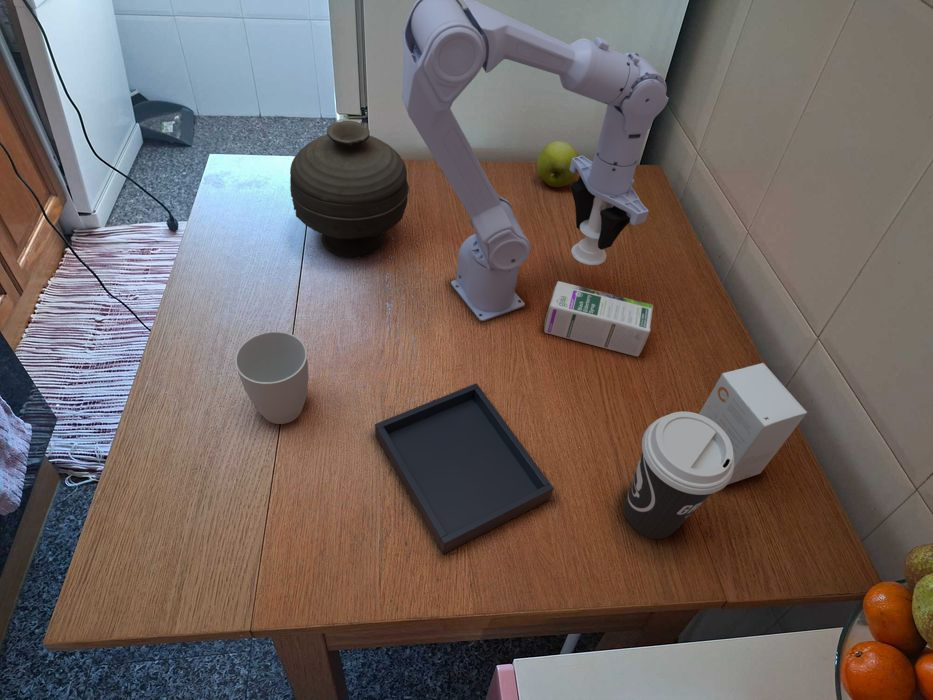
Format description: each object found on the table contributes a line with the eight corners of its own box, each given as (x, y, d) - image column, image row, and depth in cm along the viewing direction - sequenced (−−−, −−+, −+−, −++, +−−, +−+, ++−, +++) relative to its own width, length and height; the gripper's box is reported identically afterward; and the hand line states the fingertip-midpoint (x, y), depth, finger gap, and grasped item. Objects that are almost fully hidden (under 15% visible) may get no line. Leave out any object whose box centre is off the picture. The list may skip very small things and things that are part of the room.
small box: (760, 474, 82) (809, 413, 72) (720, 488, 80) (764, 427, 70) (722, 424, 87) (763, 360, 77) (683, 436, 85) (720, 372, 75)
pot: (433, 227, 109) (429, 121, 93) (367, 291, 99) (350, 184, 84) (350, 190, 115) (333, 84, 99) (280, 248, 105) (250, 140, 90)
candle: (564, 253, 98) (581, 185, 89) (584, 238, 100) (602, 171, 92) (592, 270, 95) (613, 202, 87) (612, 255, 98) (634, 188, 89)
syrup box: (651, 331, 89) (549, 303, 91) (638, 359, 94) (541, 332, 95) (654, 304, 93) (556, 278, 95) (642, 332, 98) (548, 307, 99)
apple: (531, 192, 120) (538, 154, 114) (535, 166, 126) (542, 129, 120) (573, 199, 119) (582, 161, 113) (575, 173, 125) (584, 135, 120)
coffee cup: (644, 565, 72) (689, 498, 61) (595, 496, 78) (629, 423, 67) (707, 531, 76) (761, 462, 65) (656, 467, 81) (698, 393, 70)
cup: (325, 394, 84) (319, 343, 77) (294, 442, 79) (284, 392, 72) (270, 376, 86) (258, 323, 78) (236, 422, 80) (220, 370, 73)
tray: (375, 435, 81) (374, 423, 79) (474, 395, 87) (476, 382, 85) (442, 554, 71) (444, 543, 69) (550, 499, 77) (554, 488, 75)
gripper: (676, 176, 83) (646, 258, 93) (606, 122, 91) (585, 203, 101) (635, 188, 80) (608, 271, 90) (566, 132, 88) (548, 214, 98)
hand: (593, 236), depth 95 cm, fingers closed on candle, 5 cm apart
